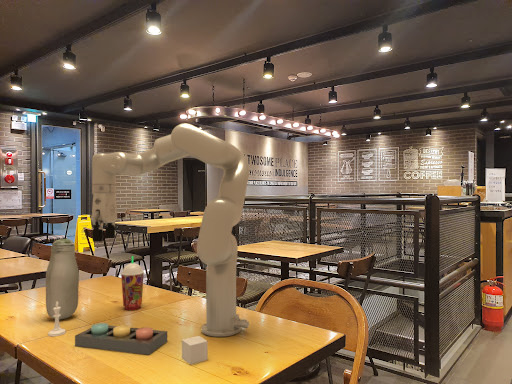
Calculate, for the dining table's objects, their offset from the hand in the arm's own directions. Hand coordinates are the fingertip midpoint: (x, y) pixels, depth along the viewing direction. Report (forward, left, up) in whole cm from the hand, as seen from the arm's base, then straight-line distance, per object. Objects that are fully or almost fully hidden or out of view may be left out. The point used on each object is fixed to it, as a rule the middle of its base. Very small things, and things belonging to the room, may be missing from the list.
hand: (104, 239), depth 129 cm
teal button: (-10, +15, -26) cm, 32 cm away
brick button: (-25, +15, -26) cm, 39 cm away
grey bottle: (+17, 0, -28) cm, 33 cm away
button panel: (-18, +15, -28) cm, 36 cm away
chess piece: (+7, +13, -28) cm, 32 cm away
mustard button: (-17, +15, -26) cm, 35 cm away
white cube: (-43, +19, -28) cm, 54 cm away
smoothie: (0, -17, -28) cm, 33 cm away
